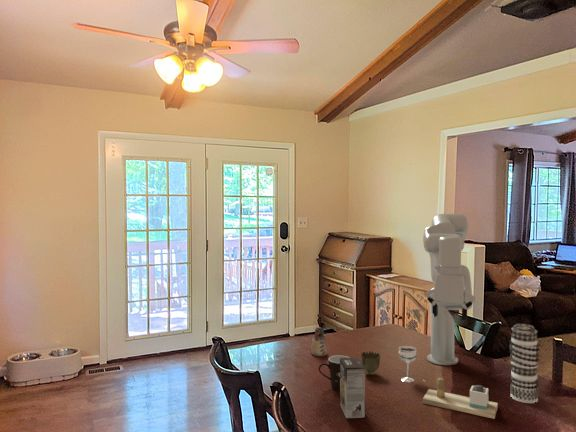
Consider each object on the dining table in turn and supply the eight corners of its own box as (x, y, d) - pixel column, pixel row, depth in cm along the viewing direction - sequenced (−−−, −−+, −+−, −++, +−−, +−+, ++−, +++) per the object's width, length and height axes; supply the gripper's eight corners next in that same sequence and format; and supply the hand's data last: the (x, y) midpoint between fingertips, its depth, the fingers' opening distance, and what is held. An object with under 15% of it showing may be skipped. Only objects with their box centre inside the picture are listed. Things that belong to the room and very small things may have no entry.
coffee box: (339, 405, 146) (339, 357, 146) (358, 404, 147) (358, 356, 146) (345, 418, 137) (345, 367, 137) (365, 417, 138) (365, 366, 137)
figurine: (329, 352, 200) (329, 326, 199) (322, 357, 194) (322, 330, 193) (315, 350, 203) (315, 324, 203) (308, 354, 197) (308, 327, 197)
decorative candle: (538, 406, 145) (539, 330, 144) (507, 399, 150) (507, 326, 149) (540, 395, 152) (540, 324, 152) (510, 390, 157) (510, 320, 157)
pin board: (429, 393, 155) (429, 372, 155) (497, 407, 144) (497, 384, 144) (422, 403, 148) (422, 380, 147) (494, 418, 136) (494, 394, 136)
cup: (380, 378, 169) (380, 357, 169) (360, 377, 170) (360, 356, 170) (380, 371, 176) (380, 351, 176) (361, 370, 178) (361, 350, 177)
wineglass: (404, 374, 172) (404, 344, 172) (420, 379, 168) (420, 348, 167) (395, 379, 168) (394, 348, 168) (411, 384, 163) (410, 352, 163)
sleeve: (471, 400, 146) (471, 385, 146) (488, 403, 143) (488, 388, 143) (469, 406, 142) (469, 390, 142) (486, 409, 139) (486, 394, 139)
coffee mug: (354, 383, 164) (354, 356, 164) (349, 392, 156) (349, 364, 156) (323, 379, 168) (323, 353, 168) (318, 388, 160) (317, 361, 160)
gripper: (422, 270, 159) (422, 317, 160) (474, 274, 151) (473, 323, 152) (427, 267, 166) (427, 311, 167) (477, 270, 157) (476, 317, 158)
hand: (449, 317), depth 159 cm, fingers open, 9 cm apart
